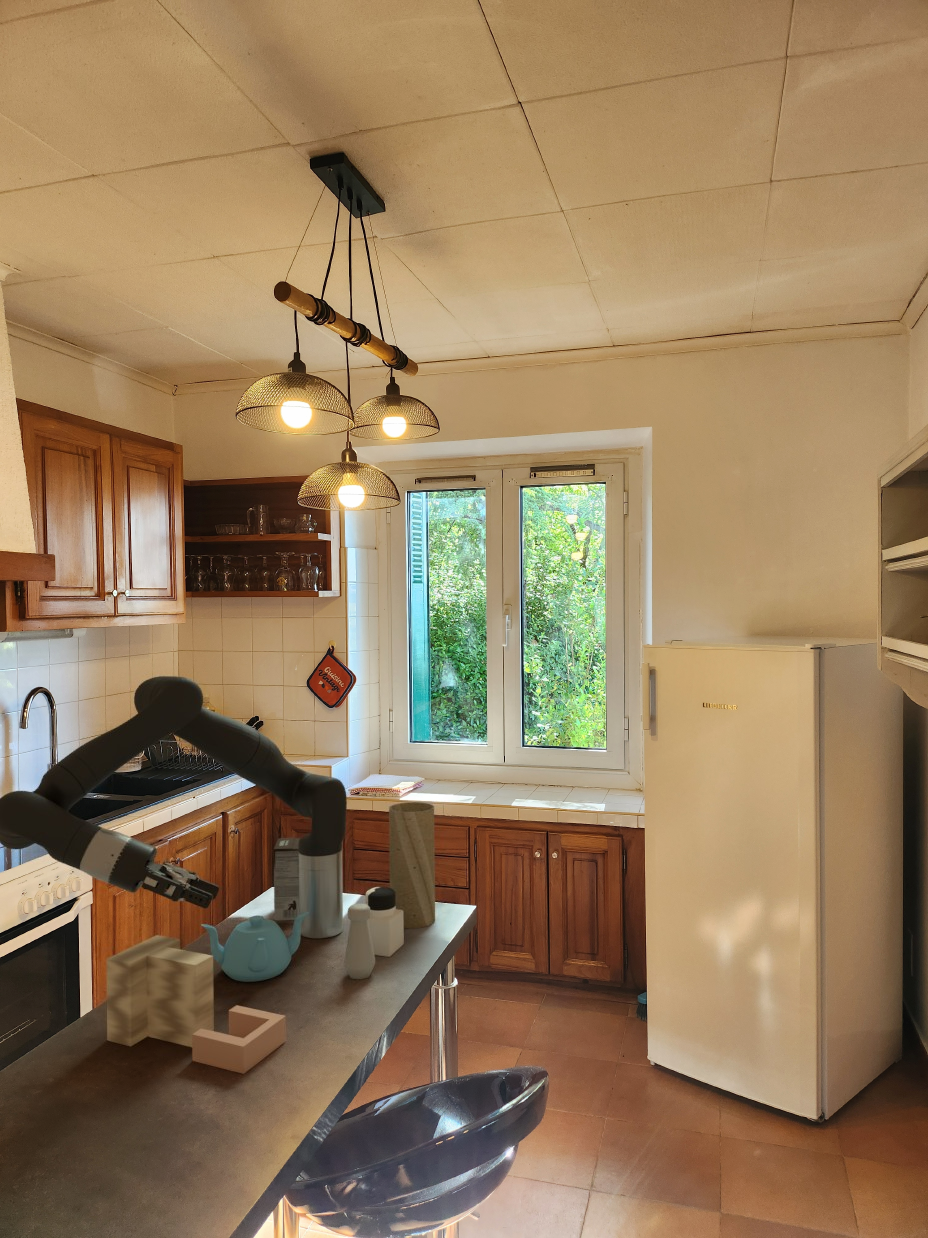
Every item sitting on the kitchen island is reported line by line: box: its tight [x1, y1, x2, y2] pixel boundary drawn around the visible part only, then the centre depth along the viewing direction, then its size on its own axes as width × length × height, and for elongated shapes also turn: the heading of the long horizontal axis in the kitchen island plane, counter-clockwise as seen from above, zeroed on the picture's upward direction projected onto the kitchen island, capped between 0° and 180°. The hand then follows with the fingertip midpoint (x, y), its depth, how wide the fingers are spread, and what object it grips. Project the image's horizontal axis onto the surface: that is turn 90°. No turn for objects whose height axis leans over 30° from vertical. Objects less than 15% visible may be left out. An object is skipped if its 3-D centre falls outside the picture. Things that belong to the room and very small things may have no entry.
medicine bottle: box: [365, 886, 405, 958], centre depth 171 cm, size 7×7×12 cm
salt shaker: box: [344, 903, 376, 980], centre depth 158 cm, size 6×6×13 cm
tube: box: [388, 801, 436, 929], centre depth 187 cm, size 10×10×25 cm
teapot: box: [200, 912, 309, 983], centre depth 161 cm, size 15×15×10 cm
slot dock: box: [191, 1004, 287, 1074], centre depth 131 cm, size 10×10×4 cm
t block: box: [106, 934, 215, 1048], centre depth 137 cm, size 15×11×13 cm
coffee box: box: [273, 837, 301, 921], centre depth 192 cm, size 9×6×16 cm
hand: (214, 898), depth 135 cm, fingers open, 8 cm apart
